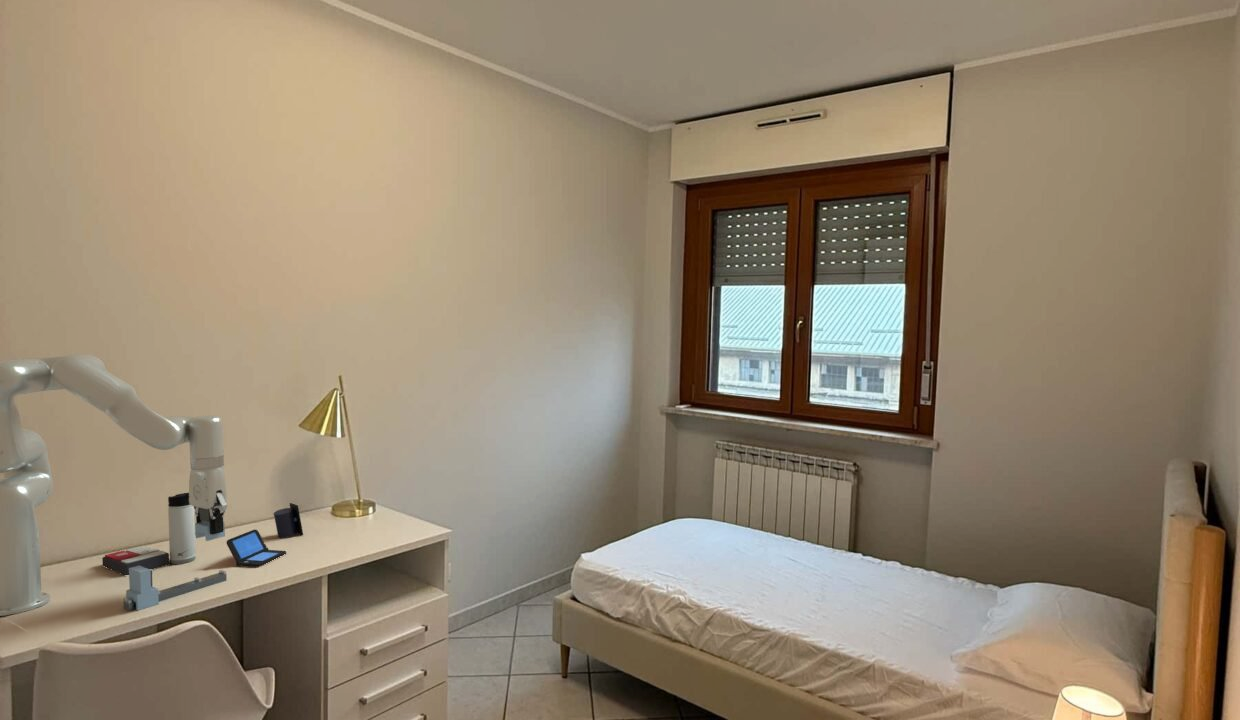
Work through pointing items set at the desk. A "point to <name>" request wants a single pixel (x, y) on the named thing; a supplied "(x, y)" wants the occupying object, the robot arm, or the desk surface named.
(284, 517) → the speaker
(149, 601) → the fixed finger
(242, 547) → the handheld game console
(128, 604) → the rail
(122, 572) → the calculator
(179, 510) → the travel mug
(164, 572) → the desk surface
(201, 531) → the notched grey block
